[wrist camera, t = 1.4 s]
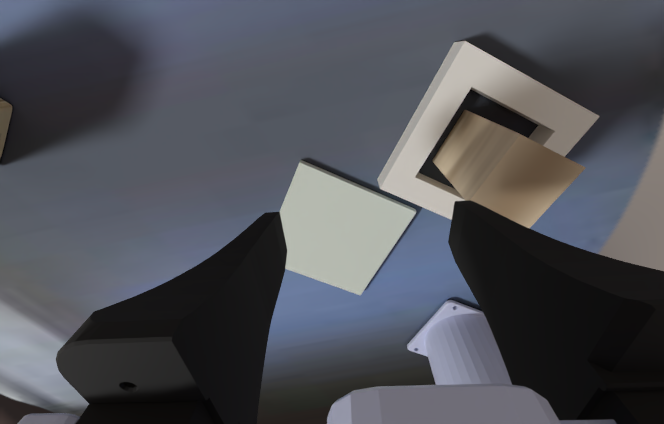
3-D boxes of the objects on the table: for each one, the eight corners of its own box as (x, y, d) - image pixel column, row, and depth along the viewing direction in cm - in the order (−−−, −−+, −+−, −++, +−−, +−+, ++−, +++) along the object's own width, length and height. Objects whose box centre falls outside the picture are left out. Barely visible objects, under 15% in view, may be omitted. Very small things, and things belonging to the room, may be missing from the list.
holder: (578, 111, 19) (600, 116, 18) (483, 225, 24) (493, 237, 22) (454, 42, 18) (465, 40, 16) (377, 179, 22) (379, 188, 21)
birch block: (511, 133, 20) (585, 167, 14) (476, 181, 22) (527, 229, 16) (464, 109, 19) (520, 133, 13) (431, 160, 21) (467, 203, 15)
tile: (414, 208, 23) (416, 212, 23) (360, 290, 28) (360, 295, 27) (300, 159, 22) (299, 162, 21) (262, 255, 26) (260, 259, 26)
